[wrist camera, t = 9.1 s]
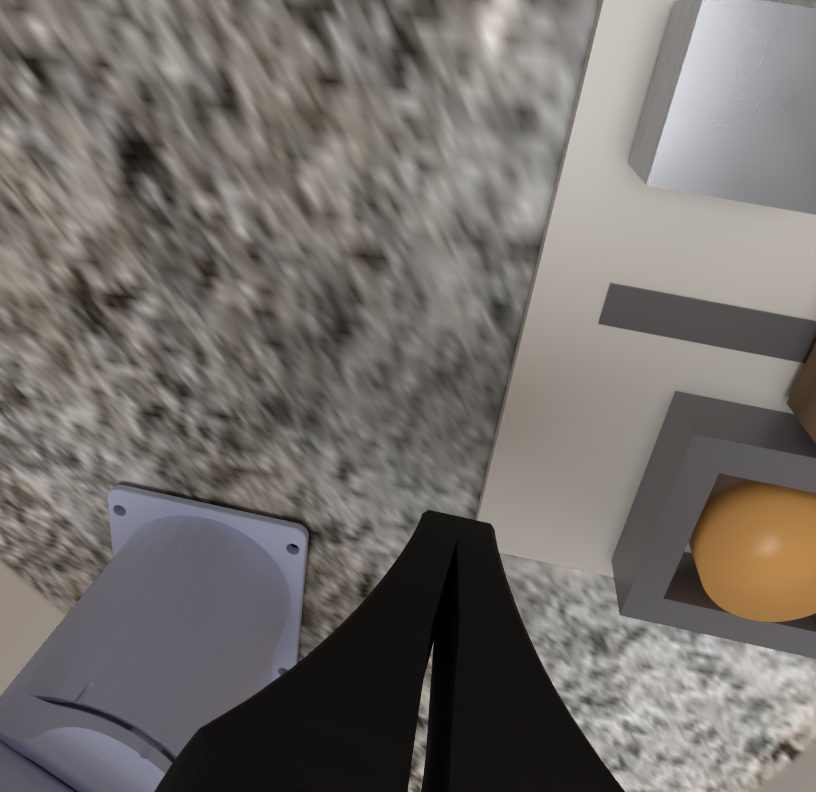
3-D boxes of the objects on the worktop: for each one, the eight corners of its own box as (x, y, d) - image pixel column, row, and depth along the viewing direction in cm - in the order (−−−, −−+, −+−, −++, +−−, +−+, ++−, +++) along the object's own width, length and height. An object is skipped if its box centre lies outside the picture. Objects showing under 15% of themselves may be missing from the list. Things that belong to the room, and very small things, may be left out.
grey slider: (792, 191, 16) (842, 219, 14) (627, 163, 17) (646, 184, 14) (857, 29, 15) (930, 25, 12) (674, 1, 15) (705, -9, 12)
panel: (809, 597, 24) (853, 684, 20) (473, 525, 24) (464, 597, 21) (1122, 63, 15) (1279, 67, 12) (603, -16, 16) (621, -32, 13)
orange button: (790, 574, 21) (820, 635, 19) (664, 548, 22) (679, 604, 19) (847, 472, 19) (887, 527, 17) (708, 444, 20) (730, 494, 18)
